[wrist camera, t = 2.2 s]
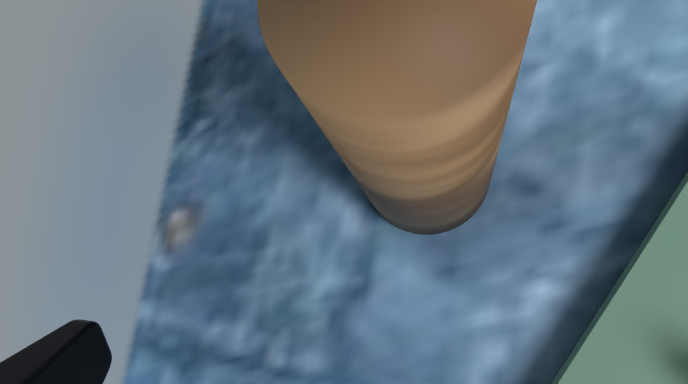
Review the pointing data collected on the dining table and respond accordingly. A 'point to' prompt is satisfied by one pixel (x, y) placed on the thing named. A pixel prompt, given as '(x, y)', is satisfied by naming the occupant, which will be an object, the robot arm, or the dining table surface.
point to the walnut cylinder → (406, 94)
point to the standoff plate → (642, 312)
